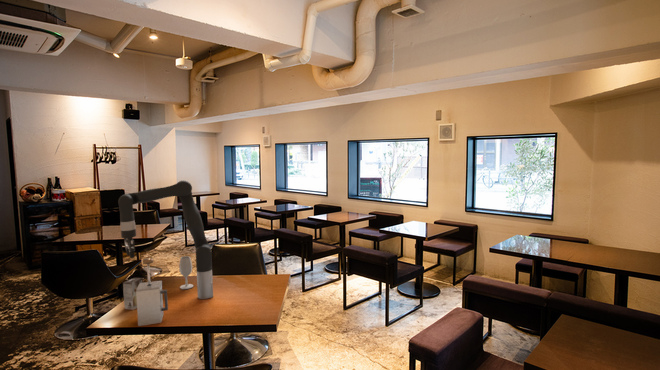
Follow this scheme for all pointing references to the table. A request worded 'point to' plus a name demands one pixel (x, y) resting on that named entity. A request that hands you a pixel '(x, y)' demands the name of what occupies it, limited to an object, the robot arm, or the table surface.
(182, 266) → the wineglass
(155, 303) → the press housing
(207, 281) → the robot arm
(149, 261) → the brass disc knob
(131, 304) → the coffee box
